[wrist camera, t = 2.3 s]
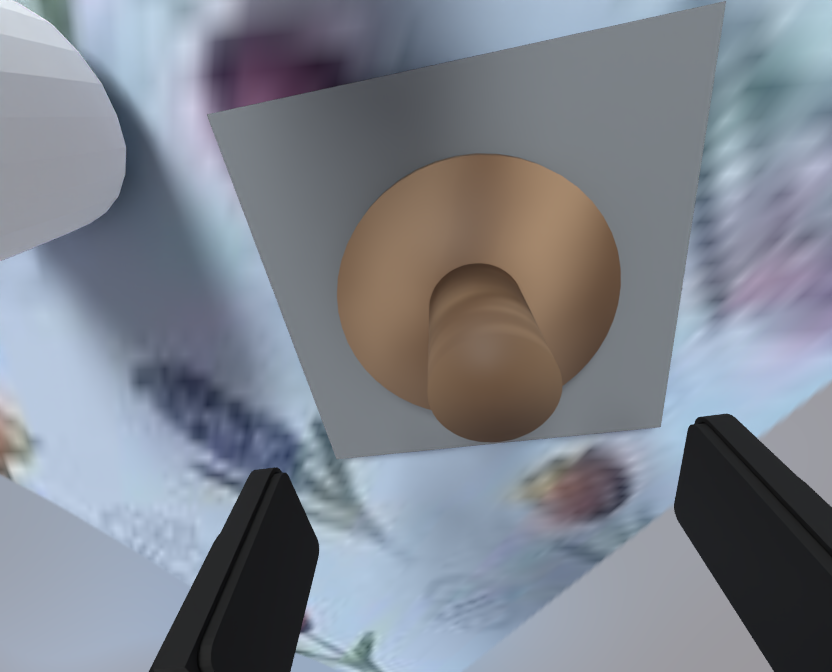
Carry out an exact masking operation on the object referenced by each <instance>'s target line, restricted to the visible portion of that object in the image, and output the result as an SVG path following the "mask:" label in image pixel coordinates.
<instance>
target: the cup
mask: <svg viewBox="0 0 832 672" xmlns="http://www.w3.org/2000/svg"><path fill="white" fill-rule="evenodd" d="M125 168H126V145H125V141H124V138H123V134H122V131H121V127H120V124H119V120H118V117H117V115H116V112H115V110H114V108H113V106H112V104H111V102H110V100H109V98H108V95H107V93H106V91H105V89H104V87H103V85H102V83H101V82H100V80H99V79H98V78H97V76H96V75H95V74H94V72H93V71H92V69H91V68H90V67H89V65H88V64H87V62H86V61H85V60H84V58H83V57H82V55H81V54H80V53H79V52H78V51H77V50H76V48H75V47H74V46H73V45H72V44H71V43H70V42H69V41H68V40H67V39H66V38H65V37H64V36H63V35H62V34H61V33H60V32H59V31H58V30H57V29H56V28H55V27H54V26H53V25H52V24H51V23H50V22H48V21H47V20H45V19H44V18H42V17H40V16H39V15H37V14H36V13H34V12H32V11H31V10H29V9H28V8H26V7H24V6H23V5H21V4H20V3H18V2H15V1H13V0H0V261H2V260H5V259H8V258H10V257H12V256H15V255H17V254H20V253H22V252H25V251H27V250H30V249H32V248H35V247H37V246H39V245H42V244H44V243H47V242H49V241H52V240H54V239H57V238H59V237H61V236H64V235H66V234H68V233H70V232H73V231H75V230H77V229H79V228H81V227H84V226H86V225H88V224H90V223H92V222H93V221H94V220H96V219H97V218H99V217H100V216H102V215H103V214H105V213H106V212H107V211H108V209H109V208H110V207H111V206H112V204H113V203H114V202H115V200H116V199H117V198H118V196H119V194H120V190H121V187H122V183H123V180H124V176H125Z"/></svg>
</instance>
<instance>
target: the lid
mask: <svg viewBox="0 0 832 672" xmlns="http://www.w3.org/2000/svg"><path fill="white" fill-rule="evenodd" d="M620 289H621V267H620V261H619V255H618V250H617V246H616V243H615V240H614V237H613V234H612V232H611V230H610V228H609V226H608V224H607V222H606V220H605V218H604V216H603V215H602V214H601V212H600V211H599V210H598V208H597V207H596V206H595V204H594V203H593V202H592V200H590V199H589V198H588V197H587V196H586V195H585V194H584V193H583V192H582V191H581V190H580V189H579V188H578V187H577V186H575V185H574V184H573V183H571V182H570V181H568V180H567V179H566V178H564V177H563V176H561V175H559V174H557V173H555V172H553V171H551V170H549V169H547V168H545V167H543V166H541V165H539V164H537V163H534V162H531V161H528V160H525V159H522V158H519V157H514V156H508V155H501V154H481V153H476V154H468V155H460V156H454V157H450V158H446V159H443V160H439V161H435V162H433V163H431V164H428V165H426V166H424V167H421V168H419V169H417V170H415V171H413V172H412V173H410V174H408V175H407V176H405V177H403V178H402V179H400V180H399V181H397V182H396V183H395V184H394V185H392V186H391V187H390V188H389V189H387V190H386V191H385V192H384V193H383V194H382V195H381V196H380V197H379V198H378V199H377V200H376V201H375V202H374V203H373V204H372V205H371V206H370V208H369V209H368V211H367V212H366V214H365V215H364V216H363V218H362V219H361V221H360V222H359V223H358V225H357V226H356V228H355V230H354V232H353V234H352V236H351V238H350V240H349V242H348V243H347V246H346V249H345V252H344V255H343V257H342V260H341V265H340V270H339V275H338V283H337V303H338V313H339V317H340V321H341V325H342V329H343V331H344V334H345V337H346V339H347V342H348V344H349V346H350V347H351V349H352V351H353V353H354V355H355V356H356V358H357V359H358V360H359V362H360V363H361V365H362V366H363V367H364V369H365V370H366V371H367V372H368V373H369V374H370V375H371V376H372V377H373V378H374V379H375V380H376V381H377V382H379V383H380V384H381V385H382V386H383V387H385V388H386V389H387V390H389V391H390V392H392V393H393V394H395V395H397V396H398V397H400V398H402V399H404V400H406V401H408V402H410V403H412V404H414V405H417V406H420V407H423V408H425V409H429V410H432V412H433V414H434V416H435V417H436V419H437V420H438V421H439V422H440V423H441V424H442V425H443V426H444V427H445V428H446V429H448V430H449V431H451V432H452V433H454V434H456V435H458V436H460V437H463V438H465V439H469V440H473V441H478V442H490V443H492V442H503V441H509V440H513V439H516V438H519V437H522V436H524V435H526V434H528V433H531V432H532V431H534V430H535V429H537V428H538V427H540V426H541V425H542V424H543V423H545V422H546V421H547V420H548V419H549V417H550V416H551V415H552V414H553V412H554V411H555V409H556V407H557V406H558V403H559V401H560V398H561V394H562V386H563V385H565V384H566V383H567V382H568V381H569V380H571V379H572V378H573V377H574V376H576V375H577V374H578V373H579V372H580V371H581V370H582V369H583V368H584V367H585V366H586V365H587V364H588V362H589V361H590V360H591V358H592V357H593V356H594V355H595V353H596V352H597V351H598V349H599V348H600V346H601V344H602V343H603V341H604V339H605V338H606V336H607V334H608V332H609V329H610V327H611V325H612V323H613V320H614V317H615V313H616V310H617V307H618V303H619V296H620Z"/></svg>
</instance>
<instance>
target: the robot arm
mask: <svg viewBox="0 0 832 672" xmlns="http://www.w3.org/2000/svg"><path fill="white" fill-rule="evenodd" d="M674 510H675V514H676V517H677V520H678V521H679V523H680V525H681V526H682V528H683V529H684V531H685V533H686V534H687V536H688V537H689V539H690V540H691V542H692V544H693V545H694V547H695V548H696V550H697V551H698V553H699V555H700V556H701V558H702V559H703V561H704V562H705V564H706V566H707V567H708V569H709V570H710V572H711V573H712V575H713V577H714V578H715V580H716V581H717V583H718V584H719V586H720V588H721V589H722V591H723V592H724V594H725V595H726V597H727V598H728V600H729V601H730V603H731V605H732V606H733V608H734V609H735V611H736V613H737V614H738V615H739V617H740V619H741V620H742V622H743V624H744V625H745V626H746V628H747V630H748V631H749V633H750V634H751V636H752V638H753V639H754V641H755V642H756V644H757V645H758V647H759V649H760V650H761V652H762V653H763V655H764V656H765V658H766V660H767V661H768V663H769V664H770V666H771V667H772V669H773V670H774V672H832V507H831V506H830V505H829V504H827V503H826V502H825V501H824V500H823V499H822V498H821V497H820V496H819V495H818V494H817V493H815V491H814V490H813V489H812V488H810V487H809V486H808V485H807V484H806V483H805V482H804V481H803V480H801V479H800V478H799V477H797V476H796V475H795V474H794V473H793V472H792V471H791V470H790V469H789V468H788V467H787V466H786V465H785V464H783V462H782V461H781V460H779V459H778V458H777V457H776V456H775V455H774V454H773V453H772V452H771V451H770V450H769V449H768V448H767V447H766V446H764V444H762V442H760V441H759V440H758V439H757V438H756V437H755V436H754V435H753V434H752V433H751V432H750V431H749V430H748V429H747V428H746V427H745V426H744V425H742V424H741V423H740V422H739V421H738V420H737V419H736V418H735V417H733V416H732V415H730V414H720V415H712V416H704V417H698V418H697V419H696V421H695V424H694V425H690V426H689V428H688V432H687V437H686V443H685V448H684V454H683V459H682V465H681V470H680V475H679V481H678V486H677V492H676V497H675V503H674ZM318 556H319V543H318V540H317V537H316V535H315V533H314V531H313V529H312V526H311V524H310V522H309V520H308V518H307V516H306V513H305V511H304V509H303V507H302V505H301V502H300V500H299V498H298V496H297V494H296V491H295V489H294V487H293V485H292V483H291V480H290V478H289V476H288V474H287V473H282V472H281V470H280V469H279V468H268V469H259V470H254V471H252V472H251V474H250V475H249V477H248V479H247V481H246V483H245V485H244V487H243V489H242V491H241V493H240V495H239V497H238V499H237V501H236V503H235V505H234V507H233V509H232V511H231V513H230V515H229V517H228V519H227V521H226V523H225V525H224V527H223V529H222V531H221V533H220V534H219V535H218V537H217V538H216V540H215V541H214V543H213V545H212V547H211V549H210V551H209V553H208V555H207V557H206V559H205V561H204V563H203V565H202V567H201V569H200V571H199V573H198V575H197V577H196V579H195V581H194V583H193V585H192V587H191V589H190V591H189V593H188V595H187V597H186V599H185V601H184V603H183V605H182V607H181V609H180V611H179V613H178V615H177V617H176V619H175V621H174V623H173V625H172V627H171V629H170V631H169V633H168V634H167V636H166V638H165V641H164V642H163V644H162V646H161V649H160V650H159V652H158V654H157V656H156V658H155V660H154V662H153V665H152V667H151V668H150V670H149V672H290V671H291V666H292V663H293V658H294V654H295V650H296V646H297V642H298V638H299V634H300V630H301V626H302V622H303V618H304V614H305V609H306V605H307V601H308V597H309V593H310V589H311V585H312V581H313V577H314V573H315V569H316V565H317V560H318Z"/></svg>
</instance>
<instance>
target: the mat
mask: <svg viewBox="0 0 832 672" xmlns="http://www.w3.org/2000/svg"><path fill="white" fill-rule="evenodd" d="M725 4H726V1H724V2H720V3H715V4H711V5H706V6H701V7H697V8H692V9H688V10H683V11H679V12H674V13H669V14H665V15H660V16H656V17H651V18H647V19H642V20H637V21H633V22H628V23H624V24H619V25H615V26H610V27H605V28H601V29H596V30H592V31H587V32H583V33H578V34H573V35H569V36H564V37H560V38H555V39H551V40H546V41H541V42H537V43H532V44H528V45H523V46H519V47H514V48H509V49H505V50H500V51H496V52H491V53H487V54H482V55H477V56H473V57H468V58H464V59H459V60H455V61H450V62H445V63H441V64H436V65H432V66H427V67H422V68H418V69H413V70H409V71H404V72H400V73H395V74H390V75H386V76H381V77H377V78H372V79H368V80H363V81H358V82H354V83H349V84H345V85H340V86H336V87H331V88H326V89H322V90H317V91H313V92H308V93H304V94H299V95H294V96H290V97H285V98H281V99H276V100H272V101H267V102H262V103H258V104H253V105H249V106H244V107H240V108H235V109H230V110H226V111H221V112H217V113H212V114H208V115H207V116H208V119H209V122H210V124H211V127H212V130H213V132H214V135H215V138H216V140H217V143H218V146H219V148H220V151H221V154H222V156H223V159H224V161H225V164H226V167H227V169H228V172H229V175H230V177H231V180H232V183H233V185H234V188H235V191H236V193H237V196H238V199H239V201H240V204H241V207H242V209H243V212H244V215H245V217H246V220H247V222H248V225H249V228H250V230H251V233H252V236H253V238H254V241H255V244H256V246H257V249H258V252H259V254H260V257H261V260H262V262H263V265H264V268H265V270H266V273H267V276H268V278H269V281H270V283H271V286H272V289H273V291H274V294H275V297H276V299H277V302H278V305H279V307H280V310H281V313H282V315H283V318H284V321H285V323H286V326H287V329H288V331H289V334H290V337H291V339H292V342H293V344H294V347H295V350H296V352H297V355H298V358H299V360H300V363H301V366H302V368H303V371H304V374H305V376H306V379H307V382H308V384H309V387H310V390H311V392H312V395H313V398H314V400H315V403H316V405H317V408H318V411H319V413H320V416H321V419H322V421H323V424H324V427H325V429H326V432H327V435H328V437H329V440H330V443H331V445H332V448H333V451H334V453H335V456H336V459H344V458H354V457H364V456H374V455H384V454H394V453H404V452H414V451H424V450H435V449H445V448H455V447H465V446H475V445H485V444H495V443H505V442H515V441H525V440H536V439H546V438H556V437H566V436H576V435H586V434H596V433H606V432H616V431H627V430H637V429H647V428H657V427H661V421H662V415H663V408H664V402H665V395H666V389H667V382H668V375H669V369H670V362H671V356H672V349H673V343H674V336H675V330H676V323H677V317H678V310H679V304H680V297H681V291H682V284H683V278H684V271H685V265H686V258H687V252H688V245H689V239H690V232H691V226H692V219H693V213H694V206H695V200H696V193H697V187H698V180H699V174H700V167H701V160H702V154H703V147H704V141H705V134H706V128H707V121H708V115H709V108H710V102H711V95H712V89H713V82H714V76H715V69H716V63H717V56H718V50H719V43H720V37H721V30H722V24H723V17H724V11H725ZM476 153H481V154H501V155H508V156H514V157H519V158H522V159H525V160H528V161H531V162H534V163H537V164H539V165H541V166H543V167H545V168H547V169H549V170H551V171H553V172H555V173H557V174H559V175H561V176H563V177H564V178H566V179H567V180H568V181H570V182H571V183H573V184H574V185H575V186H577V187H578V188H579V189H580V190H581V191H582V192H583V193H584V194H585V195H586V196H587V197H588V198H589V199H590V200H592V202H593V203H594V204H595V206H596V207H597V208H598V210H599V211H600V212H601V214H602V215H603V216H604V218H605V220H606V222H607V224H608V226H609V228H610V230H611V232H612V234H613V237H614V240H615V243H616V246H617V250H618V255H619V261H620V267H621V289H620V296H619V303H618V307H617V310H616V313H615V317H614V320H613V323H612V325H611V327H610V329H609V332H608V334H607V336H606V338H605V339H604V341H603V343H602V344H601V346H600V348H599V349H598V351H597V352H596V353H595V355H594V356H593V357H592V358H591V360H590V361H589V362H588V364H587V365H586V366H585V367H584V368H583V369H582V370H581V371H580V372H579V373H578V374H577V375H576V376H574V377H573V378H572V379H571V380H569V381H568V382H567V383H566V384H565V385H563V386H562V394H561V398H560V401H559V403H558V406H557V407H556V409H555V411H554V412H553V414H552V415H551V416H550V417H549V419H548V420H547V421H546V422H545V423H543V424H542V425H541V426H540V427H538V428H537V429H535V430H534V431H532V432H531V433H528V434H526V435H524V436H522V437H519V438H516V439H513V440H509V441H503V442H492V443H490V442H478V441H473V440H469V439H465V438H463V437H460V436H458V435H456V434H454V433H452V432H451V431H449V430H448V429H446V428H445V427H444V426H443V425H442V424H441V423H440V422H439V421H438V420H437V419H436V417H435V416H434V414H433V412H432V410H429V409H425V408H423V407H420V406H417V405H414V404H412V403H410V402H408V401H406V400H404V399H402V398H400V397H398V396H397V395H395V394H393V393H392V392H390V391H389V390H387V389H386V388H385V387H383V386H382V385H381V384H380V383H379V382H377V381H376V380H375V379H374V378H373V377H372V376H371V375H370V374H369V373H368V372H367V371H366V370H365V369H364V367H363V366H362V365H361V363H360V362H359V360H358V359H357V358H356V356H355V355H354V353H353V351H352V349H351V347H350V346H349V344H348V342H347V339H346V337H345V334H344V331H343V329H342V325H341V321H340V317H339V313H338V303H337V283H338V275H339V270H340V265H341V260H342V257H343V255H344V252H345V249H346V246H347V243H348V242H349V240H350V238H351V236H352V234H353V232H354V230H355V228H356V226H357V225H358V223H359V222H360V221H361V219H362V218H363V216H364V215H365V214H366V212H367V211H368V209H369V208H370V206H371V205H372V204H373V203H374V202H375V201H376V200H377V199H378V198H379V197H380V196H381V195H382V194H383V193H384V192H385V191H386V190H387V189H389V188H390V187H391V186H392V185H394V184H395V183H396V182H397V181H399V180H400V179H402V178H403V177H405V176H407V175H408V174H410V173H412V172H413V171H415V170H417V169H419V168H421V167H424V166H426V165H428V164H431V163H433V162H435V161H439V160H443V159H446V158H450V157H454V156H460V155H468V154H476Z"/></svg>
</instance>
